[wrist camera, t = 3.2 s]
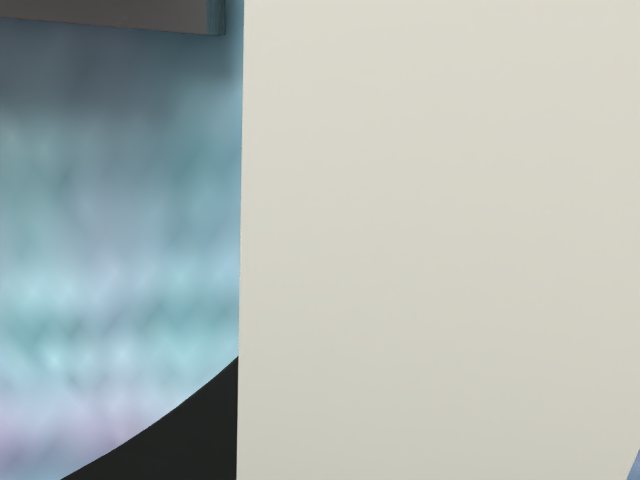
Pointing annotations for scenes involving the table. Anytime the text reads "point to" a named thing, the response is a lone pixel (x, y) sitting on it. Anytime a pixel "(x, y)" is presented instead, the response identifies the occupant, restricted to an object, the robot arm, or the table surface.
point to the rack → (126, 13)
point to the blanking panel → (439, 240)
